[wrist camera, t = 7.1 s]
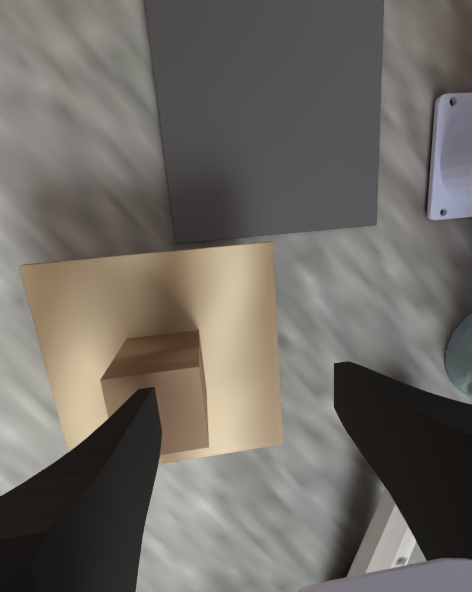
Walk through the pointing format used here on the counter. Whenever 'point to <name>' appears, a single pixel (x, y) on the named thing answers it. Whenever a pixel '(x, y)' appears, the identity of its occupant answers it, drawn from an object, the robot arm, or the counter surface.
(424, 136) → the counter surface
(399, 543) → the toothpaste tube
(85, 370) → the lid
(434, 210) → the robot arm
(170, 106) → the mat
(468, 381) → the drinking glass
